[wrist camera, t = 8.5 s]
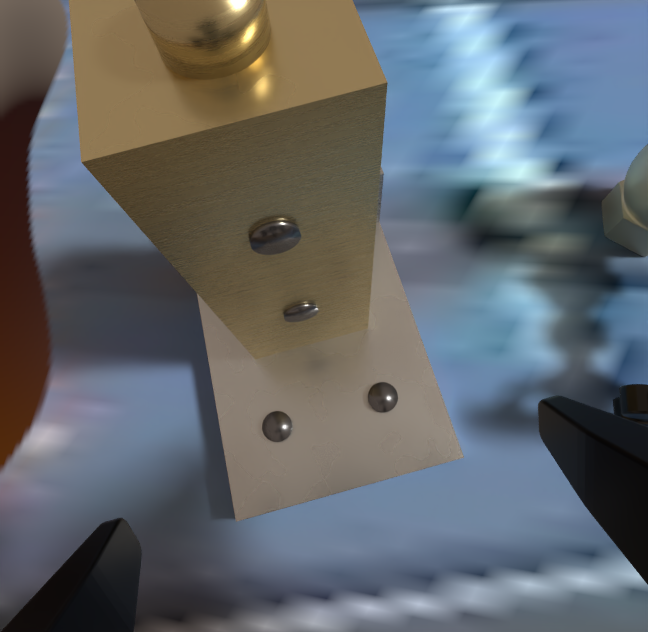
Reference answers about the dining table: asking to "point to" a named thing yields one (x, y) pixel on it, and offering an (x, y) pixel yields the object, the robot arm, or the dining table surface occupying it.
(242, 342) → the loose leaf
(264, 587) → the dining table surface
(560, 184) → the dining table surface
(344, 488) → the fixed leaf
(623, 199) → the valve
